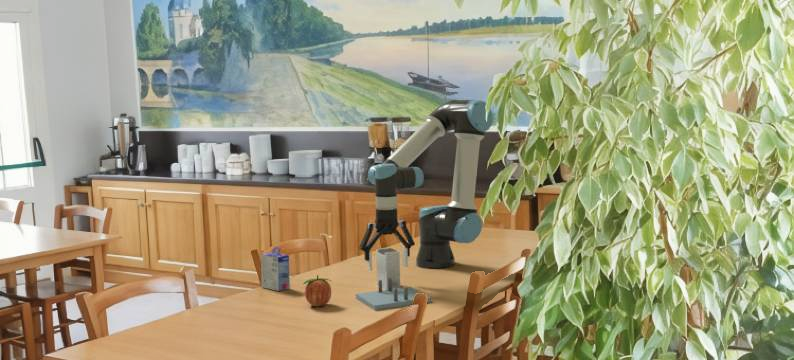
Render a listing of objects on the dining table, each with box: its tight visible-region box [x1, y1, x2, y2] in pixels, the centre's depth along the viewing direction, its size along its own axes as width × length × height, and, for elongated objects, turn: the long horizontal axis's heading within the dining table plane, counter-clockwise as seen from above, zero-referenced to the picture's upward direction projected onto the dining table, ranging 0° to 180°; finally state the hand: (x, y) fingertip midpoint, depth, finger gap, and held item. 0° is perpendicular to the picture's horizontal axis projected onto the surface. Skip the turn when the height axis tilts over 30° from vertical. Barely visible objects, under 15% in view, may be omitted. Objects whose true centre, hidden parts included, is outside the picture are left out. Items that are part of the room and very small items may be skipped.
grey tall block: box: [375, 247, 401, 290], centre depth 297 cm, size 5×9×13 cm, turn 23°
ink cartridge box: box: [260, 246, 291, 292], centre depth 299 cm, size 10×6×14 cm, turn 48°
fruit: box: [302, 274, 332, 307], centre depth 274 cm, size 9×10×10 cm
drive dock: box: [355, 279, 432, 311], centre depth 278 cm, size 20×17×6 cm
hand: (387, 267), depth 296 cm, fingers open, 13 cm apart
